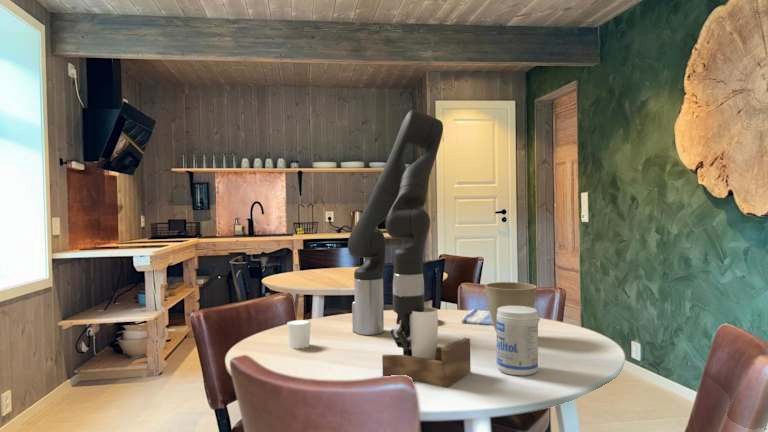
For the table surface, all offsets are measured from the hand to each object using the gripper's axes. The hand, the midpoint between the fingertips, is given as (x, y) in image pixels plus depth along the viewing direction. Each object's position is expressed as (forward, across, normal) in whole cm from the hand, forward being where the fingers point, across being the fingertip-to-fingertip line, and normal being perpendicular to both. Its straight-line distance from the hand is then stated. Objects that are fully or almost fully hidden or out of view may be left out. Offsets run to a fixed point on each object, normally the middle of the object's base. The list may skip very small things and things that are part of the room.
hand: (408, 363), depth 119 cm
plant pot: (+2, -41, +11) cm, 43 cm away
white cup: (+2, -3, -39) cm, 39 cm away
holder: (+2, 0, +5) cm, 5 cm away
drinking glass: (+2, 0, +4) cm, 4 cm away
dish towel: (+3, -63, -1) cm, 63 cm away
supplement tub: (+2, -13, +22) cm, 26 cm away
